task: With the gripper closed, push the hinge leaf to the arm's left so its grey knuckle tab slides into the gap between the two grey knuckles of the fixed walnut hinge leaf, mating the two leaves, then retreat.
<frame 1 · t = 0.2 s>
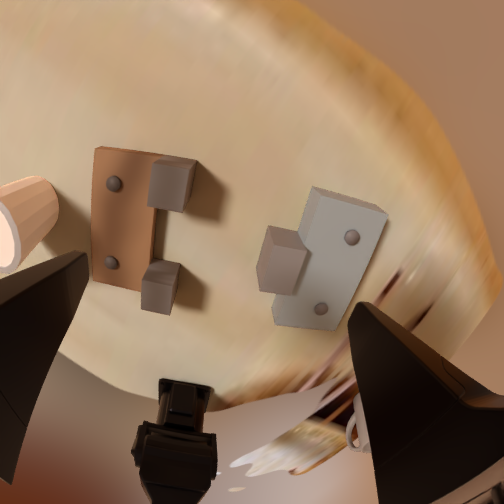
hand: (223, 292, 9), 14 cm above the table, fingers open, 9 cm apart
pale pink tumbler: (38, 203, 21), on the table
cup: (364, 397, 37), on the table
leaf a: (138, 223, 23), on the table
leaf b: (322, 258, 25), on the table
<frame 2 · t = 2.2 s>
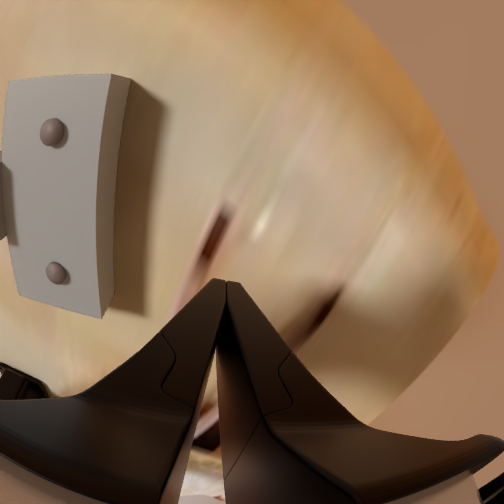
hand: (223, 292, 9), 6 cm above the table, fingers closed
leaf b: (68, 190, 13), on the table
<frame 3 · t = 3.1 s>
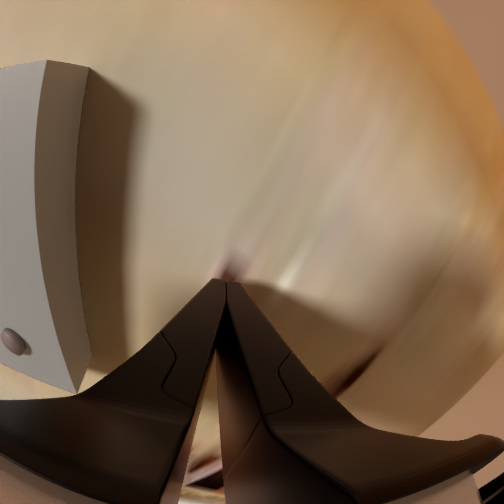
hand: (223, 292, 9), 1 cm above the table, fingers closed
leaf b: (19, 229, 8), on the table
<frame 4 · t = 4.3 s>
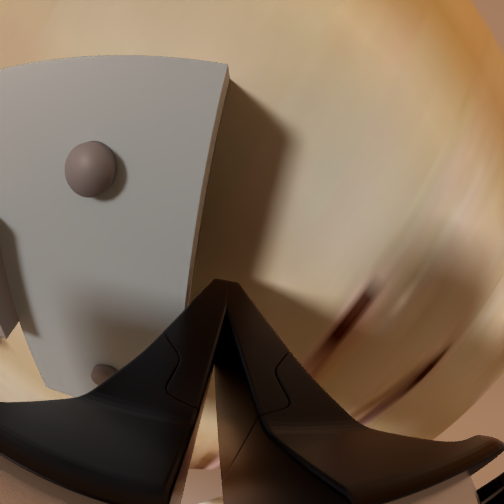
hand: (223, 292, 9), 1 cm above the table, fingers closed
leaf b: (110, 251, 9), on the table, touching gripper
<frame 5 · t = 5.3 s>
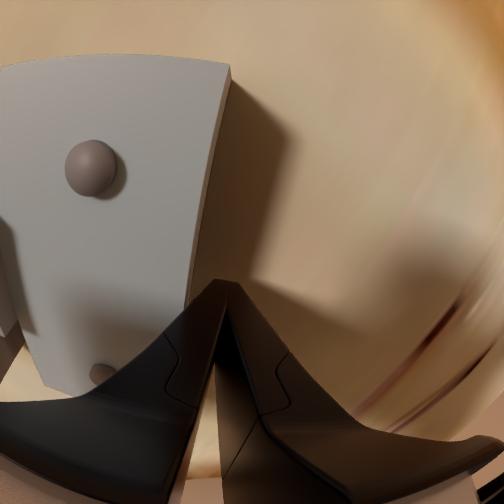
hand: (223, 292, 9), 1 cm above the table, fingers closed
leaf b: (109, 250, 9), on the table, touching gripper
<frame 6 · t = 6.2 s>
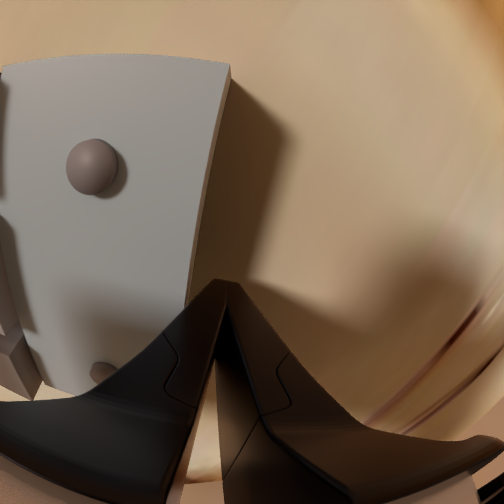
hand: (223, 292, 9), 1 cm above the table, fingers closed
leaf b: (110, 249, 9), on the table, touching gripper
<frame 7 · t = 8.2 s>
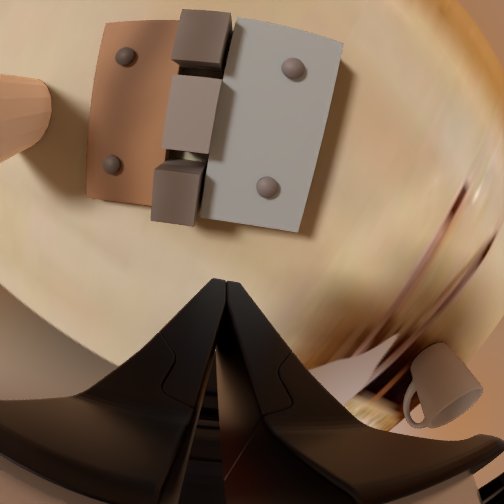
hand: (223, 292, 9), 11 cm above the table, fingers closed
pale pink tumbler: (27, 112, 15), on the table
cup: (421, 362, 30), on the table
leaf a: (152, 110, 16), on the table
leaf b: (265, 123, 17), on the table
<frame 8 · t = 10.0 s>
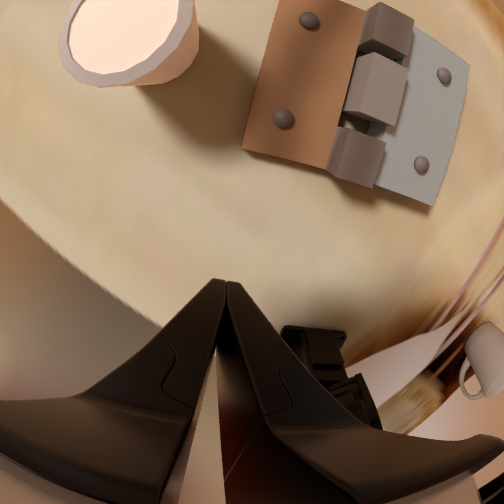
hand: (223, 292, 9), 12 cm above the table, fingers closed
pale pink tumbler: (158, 47, 15), on the table
cup: (472, 341, 30), on the table
leaf a: (321, 78, 16), on the table
leaf b: (409, 113, 17), on the table
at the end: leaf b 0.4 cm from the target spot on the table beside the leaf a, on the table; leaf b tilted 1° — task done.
